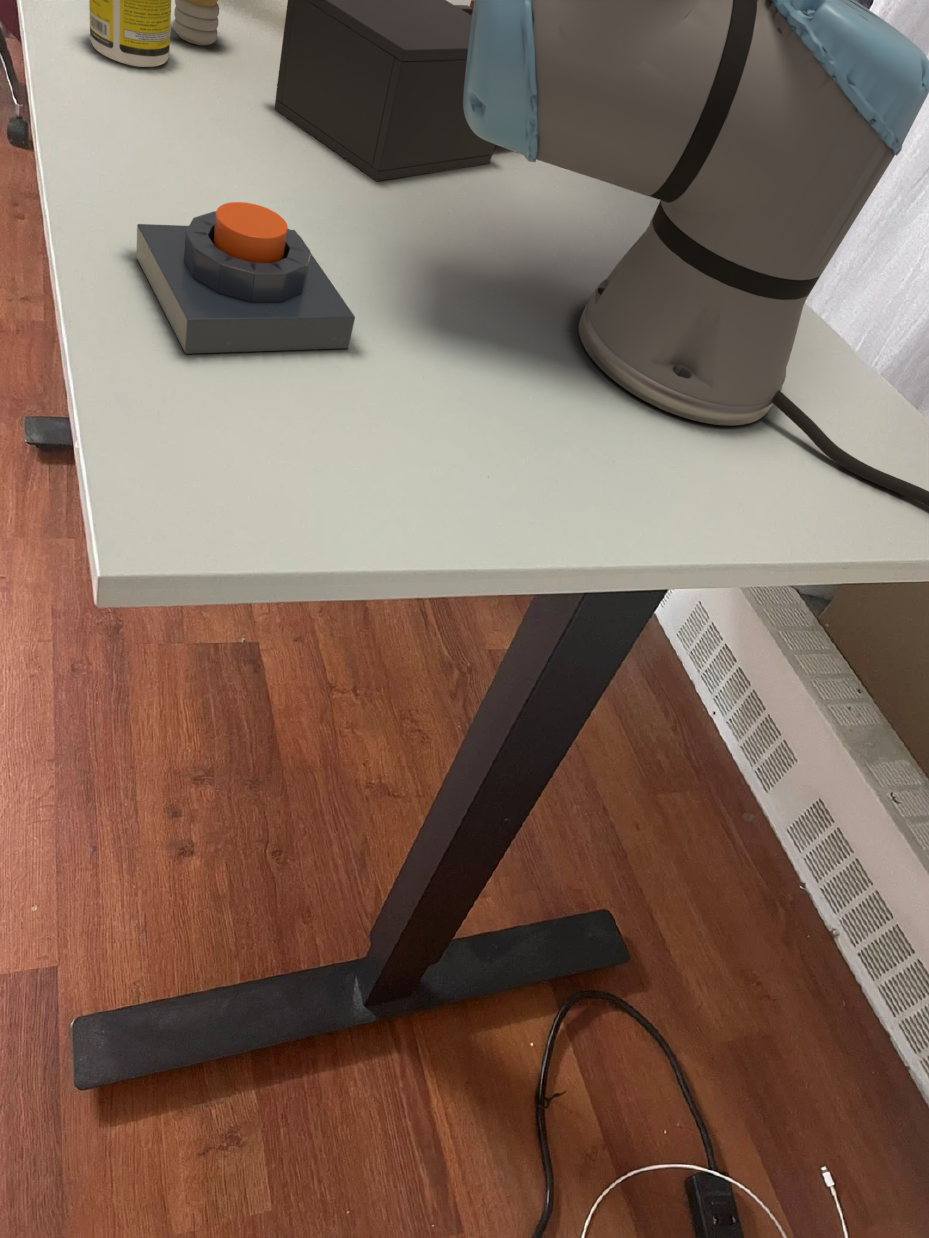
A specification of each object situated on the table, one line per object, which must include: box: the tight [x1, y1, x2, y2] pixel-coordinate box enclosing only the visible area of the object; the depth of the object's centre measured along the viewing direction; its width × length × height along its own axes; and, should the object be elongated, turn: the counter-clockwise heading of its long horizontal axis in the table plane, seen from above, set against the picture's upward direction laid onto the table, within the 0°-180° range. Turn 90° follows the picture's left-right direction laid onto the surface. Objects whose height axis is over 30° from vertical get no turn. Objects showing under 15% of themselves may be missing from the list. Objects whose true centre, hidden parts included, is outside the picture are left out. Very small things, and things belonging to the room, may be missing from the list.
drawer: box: [454, 0, 474, 16], centre depth 81 cm, size 15×11×8 cm
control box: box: [135, 210, 356, 355], centre depth 54 cm, size 10×10×4 cm
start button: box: [214, 201, 289, 263], centre depth 52 cm, size 4×4×2 cm
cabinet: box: [274, 0, 496, 182], centre depth 75 cm, size 15×13×10 cm
